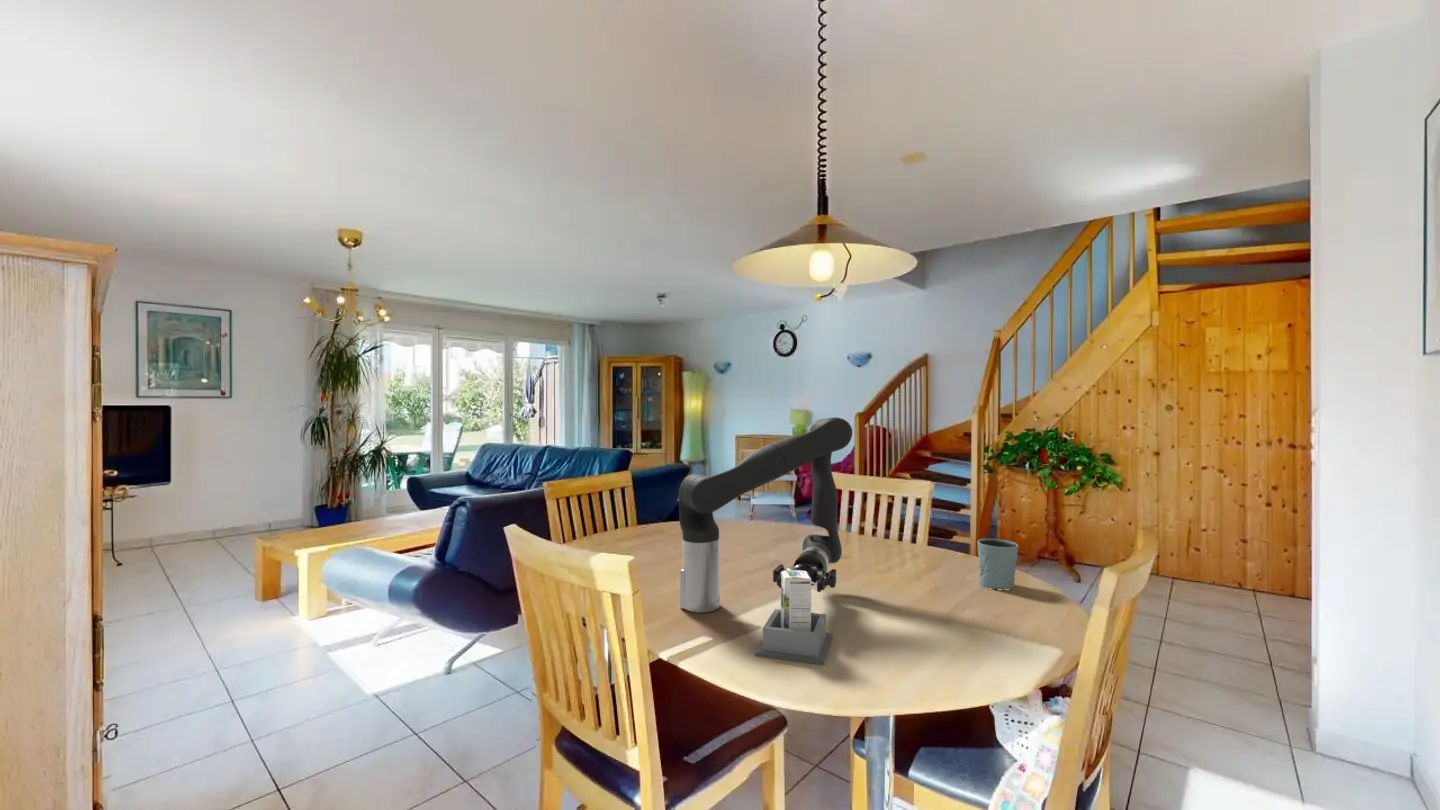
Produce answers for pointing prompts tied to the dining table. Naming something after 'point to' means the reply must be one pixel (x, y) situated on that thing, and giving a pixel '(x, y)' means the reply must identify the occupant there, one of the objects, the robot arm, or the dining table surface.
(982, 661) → the dining table surface
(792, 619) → the syrup box
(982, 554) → the grey-green plant pot
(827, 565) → the robot arm
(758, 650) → the holder
